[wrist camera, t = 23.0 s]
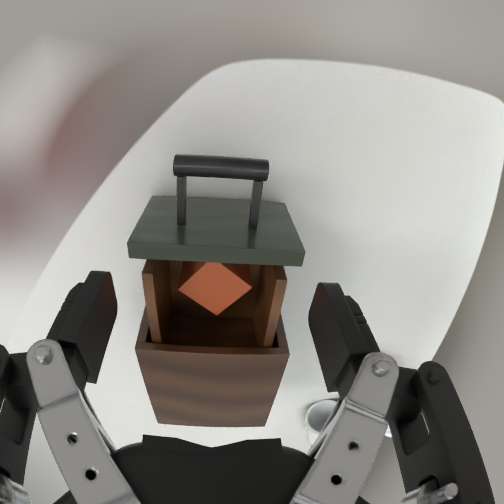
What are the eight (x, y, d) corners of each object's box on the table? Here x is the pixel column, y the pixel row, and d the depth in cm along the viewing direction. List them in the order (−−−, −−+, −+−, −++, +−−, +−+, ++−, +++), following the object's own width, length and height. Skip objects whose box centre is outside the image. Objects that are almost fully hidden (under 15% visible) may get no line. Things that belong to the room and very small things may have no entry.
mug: (325, 467, 45) (327, 451, 39) (300, 436, 52) (296, 414, 46) (372, 434, 49) (382, 410, 42) (345, 406, 56) (350, 379, 49)
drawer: (151, 139, 22) (120, 167, 15) (293, 148, 23) (321, 179, 17) (160, 312, 32) (150, 369, 25) (264, 316, 33) (273, 374, 26)
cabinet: (153, 276, 30) (134, 348, 22) (274, 282, 32) (290, 354, 23) (165, 361, 38) (157, 423, 30) (257, 365, 39) (264, 426, 31)
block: (183, 259, 27) (177, 289, 23) (214, 229, 25) (212, 257, 22) (217, 284, 29) (216, 315, 25) (248, 258, 27) (252, 287, 24)
